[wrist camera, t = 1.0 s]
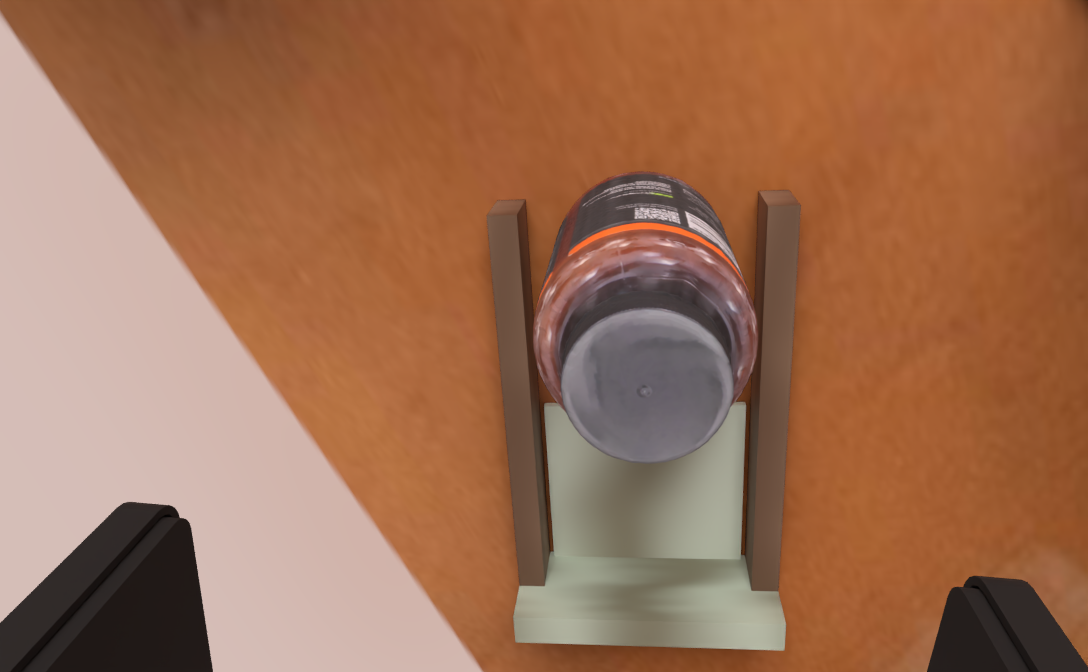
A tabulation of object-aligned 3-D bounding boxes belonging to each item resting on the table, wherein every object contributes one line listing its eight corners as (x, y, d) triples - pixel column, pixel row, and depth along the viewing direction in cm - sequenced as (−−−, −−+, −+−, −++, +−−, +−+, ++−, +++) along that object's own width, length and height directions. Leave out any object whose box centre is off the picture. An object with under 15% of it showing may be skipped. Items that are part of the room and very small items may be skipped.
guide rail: (789, 189, 28) (812, 219, 24) (768, 579, 34) (784, 650, 30) (497, 200, 29) (476, 230, 25) (528, 574, 35) (515, 642, 31)
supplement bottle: (598, 351, 31) (577, 533, 20) (529, 209, 29) (467, 328, 18) (751, 291, 29) (813, 455, 19) (688, 137, 27) (720, 224, 17)
